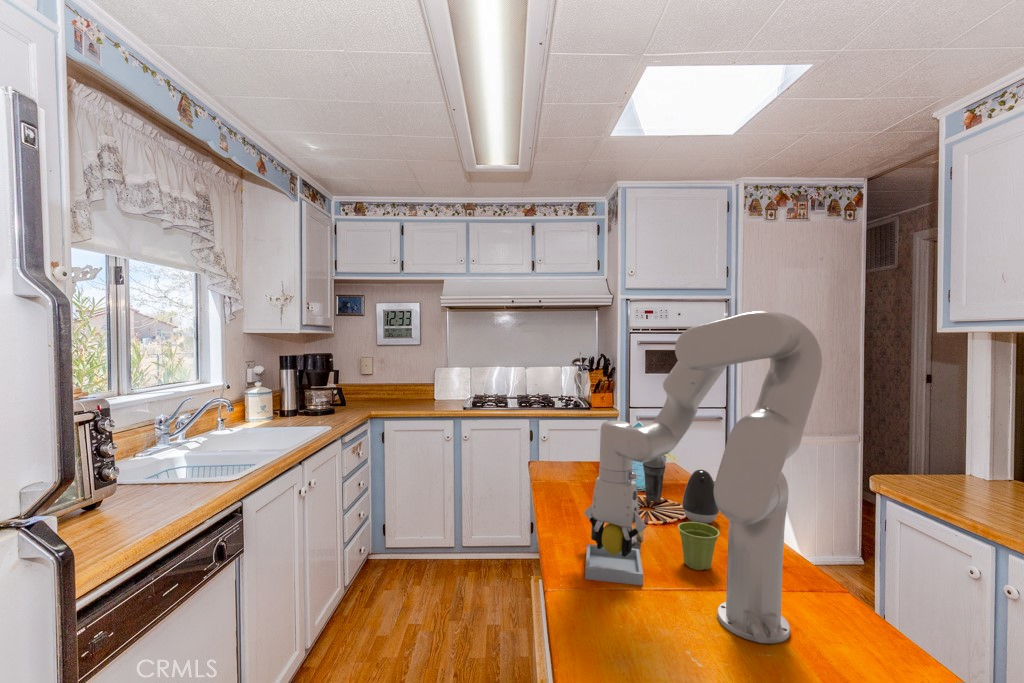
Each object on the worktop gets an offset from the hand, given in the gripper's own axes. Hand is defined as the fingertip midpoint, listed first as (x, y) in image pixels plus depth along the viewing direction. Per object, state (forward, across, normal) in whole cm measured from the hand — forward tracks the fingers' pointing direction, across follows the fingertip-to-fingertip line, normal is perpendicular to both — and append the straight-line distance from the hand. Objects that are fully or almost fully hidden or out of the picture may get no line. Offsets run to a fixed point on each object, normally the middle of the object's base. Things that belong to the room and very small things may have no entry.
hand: (613, 549), depth 116 cm
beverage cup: (+5, +8, -52) cm, 53 cm away
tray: (+4, 0, 0) cm, 4 cm away
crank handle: (+2, +4, -9) cm, 11 cm away
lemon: (+1, 0, 0) cm, 1 cm away
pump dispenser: (+5, -9, -43) cm, 44 cm away
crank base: (+5, +1, -14) cm, 15 cm away
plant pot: (+5, -16, -14) cm, 22 cm away
